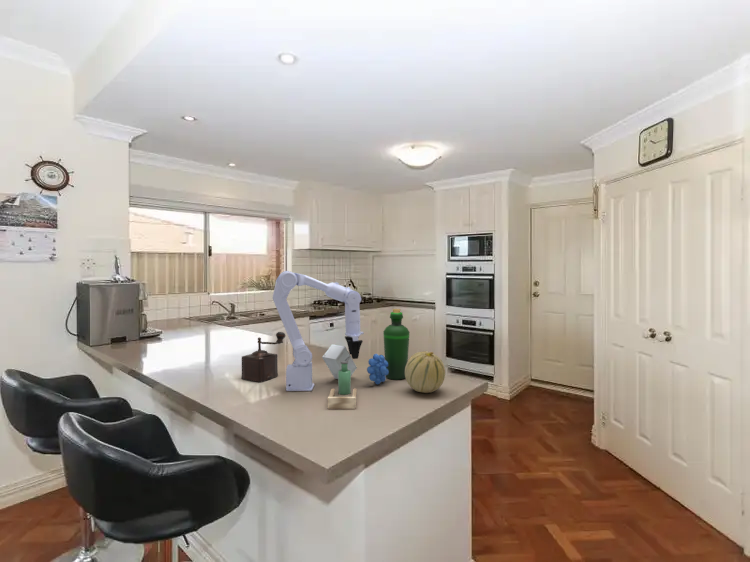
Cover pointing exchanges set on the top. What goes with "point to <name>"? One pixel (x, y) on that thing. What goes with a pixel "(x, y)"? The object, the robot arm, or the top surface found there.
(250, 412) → the top surface
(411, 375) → the cantaloupe
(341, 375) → the green bottle
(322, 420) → the top surface
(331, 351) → the supplement box
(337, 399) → the beech rest
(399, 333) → the bottle
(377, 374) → the grapes
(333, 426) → the top surface
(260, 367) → the manual coffee grinder
